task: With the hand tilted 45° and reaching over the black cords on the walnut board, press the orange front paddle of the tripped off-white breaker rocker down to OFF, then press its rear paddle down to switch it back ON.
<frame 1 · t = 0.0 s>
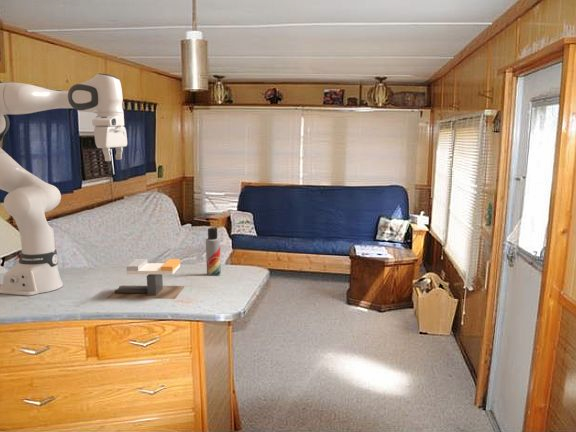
hand: (113, 160, 176), 48 cm above the countertop, tool pointing down, fingers open, 8 cm apart
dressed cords: (133, 295, 176), resting on mounting board
mounting board: (147, 295, 176), on the countertop
lotion bottle: (213, 275, 200), on the countertop
breaker rocker: (154, 266, 174), point 11 cm above the countertop, hinge at 0.0°
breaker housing: (155, 291, 175), resting on mounting board
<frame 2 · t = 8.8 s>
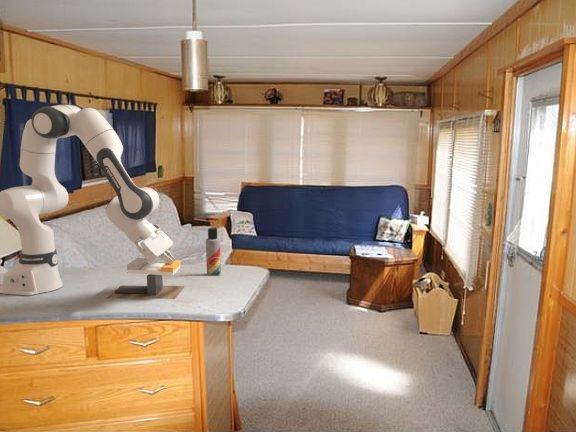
hand: (173, 262, 173), 13 cm above the countertop, tool tilted 45°, fingers closed, pressing on breaker rocker
breaker rocker: (154, 266, 174), point 11 cm above the countertop, hinge at 3.0°, touching gripper
everything else where it was.
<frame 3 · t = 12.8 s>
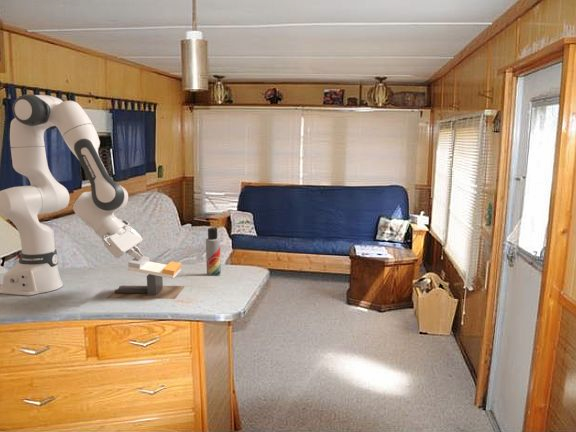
hand: (141, 258, 173), 14 cm above the countertop, tool tilted 45°, fingers closed, pressing on breaker rocker
breaker rocker: (155, 266, 174), point 11 cm above the countertop, hinge at 11.0°, touching gripper
everything else where it was.
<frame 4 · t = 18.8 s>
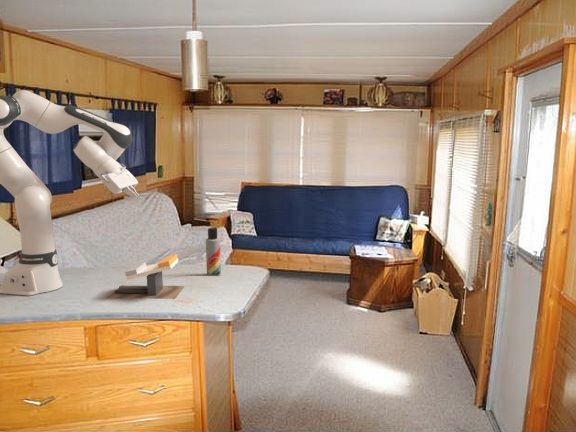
hand: (136, 196, 188), 33 cm above the countertop, tool tilted 45°, fingers closed
breaker rocker: (152, 266, 174), point 11 cm above the countertop, hinge at -14.6°
everything else where it was.
at the end: breaker rocker at -15° (first picture: +0°); lotion bottle moved 0.2 cm from its start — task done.
